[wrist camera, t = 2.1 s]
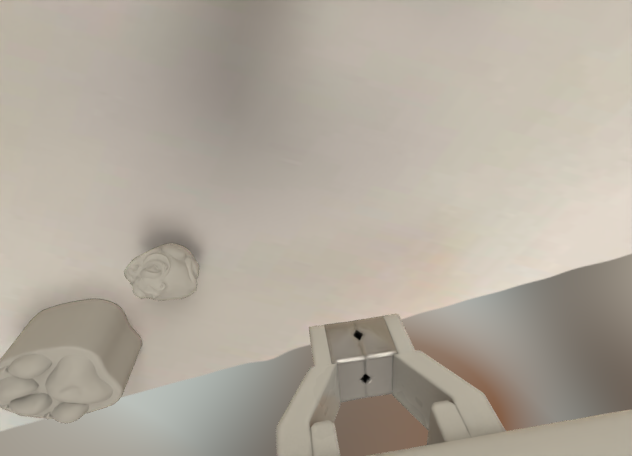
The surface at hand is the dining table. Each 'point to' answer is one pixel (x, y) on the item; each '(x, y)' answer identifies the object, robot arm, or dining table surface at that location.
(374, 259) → the dining table surface
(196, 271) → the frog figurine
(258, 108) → the dining table surface
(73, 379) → the lumpy-topped squat cylinder
